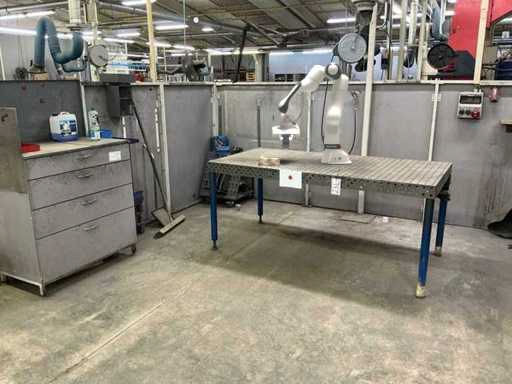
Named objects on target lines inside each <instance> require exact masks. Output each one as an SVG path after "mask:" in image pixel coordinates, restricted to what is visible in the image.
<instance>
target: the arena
mask: <svg viewBox="0 0 512 384" xmlns="http://www.w3.org/2000/svg"><path fill="white" fill-rule="evenodd" d="M280 163H281V162H280V158H279V157H278V158H277V157H276V158H275V157H274V158H273V157H272V158H271V157H270V158H269V157H265V155H260V158H259V166H260V167H261V166H262V167H263V166H270V167H271V166H273V167H277V166H279V167H280Z"/></svg>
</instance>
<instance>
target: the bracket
mask: <svg viewBox="0 0 512 384" xmlns="http://www.w3.org/2000/svg"><path fill="white" fill-rule="evenodd" d="M282 138H283V140H282V141H281V142H282V149H290V141H289V138H290V137H289V135H283V137H282Z"/></svg>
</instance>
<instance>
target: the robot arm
mask: <svg viewBox="0 0 512 384" xmlns="http://www.w3.org/2000/svg"><path fill="white" fill-rule="evenodd" d="M324 79H329V80H332V87H331V92H330V94H329V99H328V104H327V110H326V111H325V113H324V117H323V118H324V120H323V122H324V123H323V126H324V133H323V134H324V135H323V136H324V138H323V140H324V141H323V143H322V144H323V145H322V156H321V161H320V163H323V164H329V165H350V164H352V160H350V159H349V158H350V157H349V155H348V153H347V152H346V151H345V150H343V149H342V148H343V144H340V122H341V120H342V117H343V112H344V107H345V106H344V105H345V100H346V97H347V93H348V90H349V77H348V76H347V75H346V74H343V72H342V68H341V66H340V65H339V63H337V62H335V61H330V62H328V63H327V65H325V66H321V65H317V64H316V65H314V66H313V67H312V68H311V69H310V71H309V72H308V73H307V75H306V77H305V78H303V80H301V81H300V80H299V81H298V82H296V84H295V85H294V86H293V87H292V89H291V90H290V91H289V92H288V93H287V94H286V95H285V96H284V98H283V99H282V100H281V101H279V103H278V107H277V108H278V111H279V113H280V123H279V124H280V125H274V126H272V128H271V130H272V133H271V134H272V137H273V138H275V137H276V138H279V140H280V142H282V140H283V135H289V142H291V141H292V140H293V138H295V137H296V138H298V137H300V135H301V132H300V127H299V124H298V122H295V121H296V120H298V119H300V117H301V116H302V113H303V111H302V108H301V107H300V106H298V105H296V104H295V103H293V102H292V101H293V99H294V98H295V97H296V96H297V94H298V93H301V92H303V93H304V92H305V93H312V92H315V91H317V89H318V87H319V86H320V84H321V83H322V81H323V80H324Z"/></svg>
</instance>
